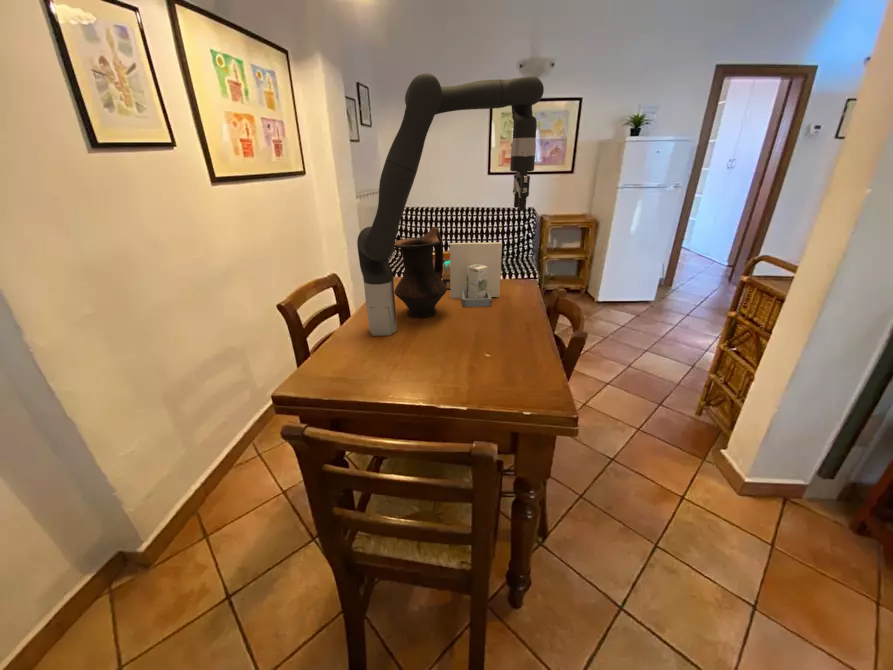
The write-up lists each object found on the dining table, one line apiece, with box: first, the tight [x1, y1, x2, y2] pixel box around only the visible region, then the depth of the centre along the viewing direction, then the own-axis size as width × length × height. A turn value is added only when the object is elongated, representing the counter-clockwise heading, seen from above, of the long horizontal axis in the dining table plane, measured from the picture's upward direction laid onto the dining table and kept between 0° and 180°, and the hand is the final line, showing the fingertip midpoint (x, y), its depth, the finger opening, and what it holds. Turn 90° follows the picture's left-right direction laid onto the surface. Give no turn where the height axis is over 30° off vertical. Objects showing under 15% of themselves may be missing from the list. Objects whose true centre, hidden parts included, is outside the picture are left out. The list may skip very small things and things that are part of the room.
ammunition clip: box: [442, 262, 450, 290], centre depth 159 cm, size 11×2×12 cm, turn 81°
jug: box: [394, 226, 448, 320], centre depth 130 cm, size 21×18×30 cm
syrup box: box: [465, 264, 488, 299], centre depth 144 cm, size 6×6×14 cm
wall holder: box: [449, 241, 503, 308], centre depth 143 cm, size 12×20×22 cm, turn 90°
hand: (519, 209), depth 123 cm, fingers open, 8 cm apart
